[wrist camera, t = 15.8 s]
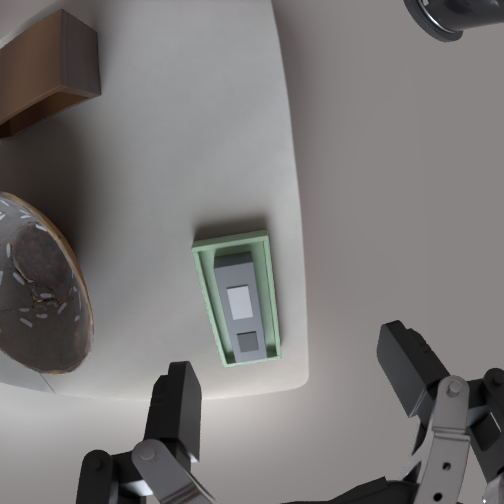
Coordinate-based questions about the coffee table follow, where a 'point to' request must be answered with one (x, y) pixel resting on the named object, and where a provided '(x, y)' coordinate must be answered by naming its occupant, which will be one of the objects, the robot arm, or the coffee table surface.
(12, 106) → the brown wooden open box
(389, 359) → the robot arm
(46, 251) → the bowl
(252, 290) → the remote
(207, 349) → the coffee table surface
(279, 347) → the tray
